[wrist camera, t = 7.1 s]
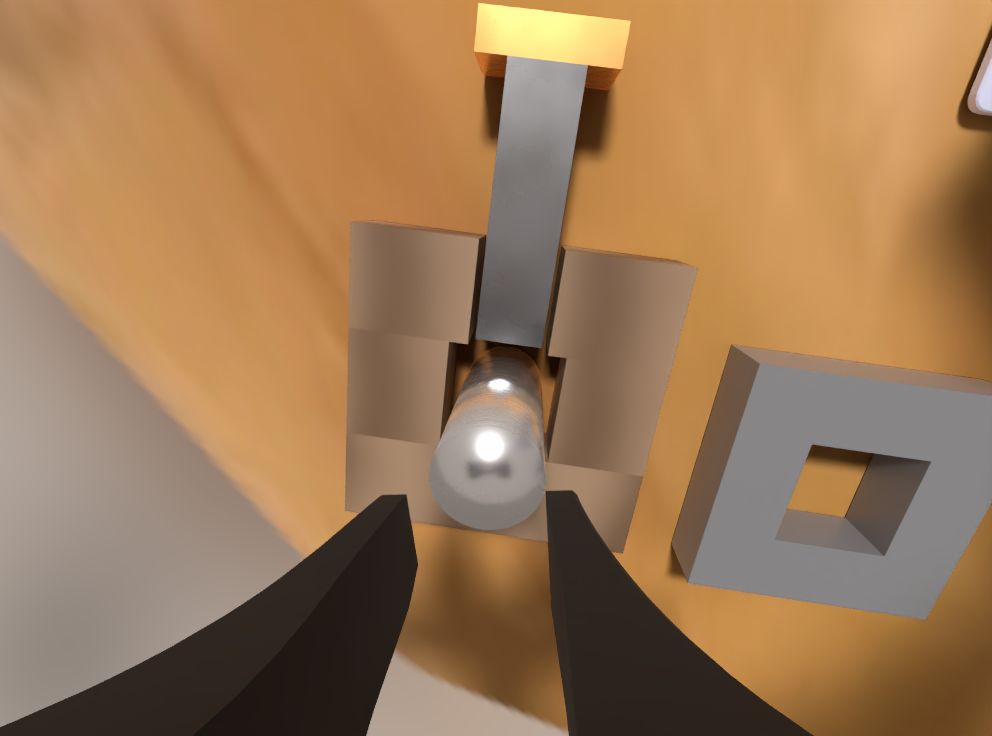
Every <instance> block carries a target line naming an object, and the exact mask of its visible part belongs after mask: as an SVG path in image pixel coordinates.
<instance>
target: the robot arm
mask: <svg viewBox="0 0 992 736" xmlns="http://www.w3.org/2000/svg"><path fill="white" fill-rule="evenodd" d="M967 103H968V108H969V109H970V110H971V112H973V113H976V114H980V115H989V116H992V39H991V42H990V44H989V47H988V49H987V52H986V54H985V57H984V59H983V62H982V64H981V67H980V69H979V71H978V74H977V76H976V79H975V81H974V84H973V86H972V89H971V91H970V94H969V97H968V101H967ZM546 514H547V533H548V552H549V571H550V590H551V607H552V614H553V621H554V628H555V635H556V642H557V649H558V656H559V663H560V670H561V677H562V684H563V691H564V698H565V705H566V712H567V721H568V731H569V736H813V735H812V734H810V733H809V732H808V731H806V730H805V729H803V728H802V727H800V726H799V725H797V724H796V723H795V722H793V721H792V720H790V719H789V718H787V717H786V716H784V715H783V714H782V713H780V712H779V711H777V710H776V709H774V708H773V707H771V706H770V705H769V704H767V703H766V702H765V701H763V700H762V699H761V698H759V697H758V696H757V695H755V694H754V693H753V692H752V691H750V690H749V689H748V688H746V687H745V686H744V685H743V684H741V683H740V682H739V681H737V680H736V679H735V678H734V677H732V676H731V675H730V674H729V673H728V672H726V671H725V670H724V669H723V668H722V667H721V666H720V665H718V664H717V663H716V662H715V661H714V660H713V659H712V658H710V657H709V656H708V655H707V654H706V653H705V652H703V651H702V650H701V649H700V648H699V647H698V646H697V645H695V644H694V643H693V642H692V641H691V640H690V639H689V638H688V637H687V636H685V635H684V634H683V633H682V632H681V631H680V630H679V629H678V628H677V627H676V626H675V625H674V624H673V623H672V622H671V621H670V620H669V619H668V618H667V617H666V616H665V615H664V614H663V613H662V612H661V611H660V610H659V609H658V607H657V606H656V605H655V604H654V603H653V602H652V601H651V600H650V599H649V598H648V597H647V596H646V594H645V593H644V592H643V591H642V590H641V589H640V588H639V586H638V585H637V584H636V583H635V582H634V581H633V579H632V578H631V577H630V576H629V574H628V573H627V572H626V571H625V569H624V568H623V567H622V566H621V564H620V563H619V562H618V560H617V559H616V558H615V556H614V555H613V554H612V552H611V551H610V549H609V548H608V547H607V545H606V544H605V542H604V541H603V539H602V538H601V537H600V535H599V534H598V532H597V530H596V529H595V527H594V526H593V524H592V522H591V521H590V519H589V517H588V516H587V514H586V512H585V510H584V508H583V506H582V505H581V502H580V500H579V498H578V495H577V494H576V493H575V492H574V491H573V490H558V491H546ZM417 567H418V562H417V556H416V549H415V543H414V537H413V531H412V525H411V519H410V513H409V506H408V500H407V494H398V495H381V496H380V497H378V498H377V499H376V500H375V501H373V502H372V503H371V504H370V505H369V506H367V507H366V508H365V509H364V510H363V511H362V512H360V513H359V514H358V515H357V516H356V517H355V518H354V519H352V520H351V521H350V522H349V523H348V524H347V525H345V526H344V527H343V528H342V529H341V530H340V531H338V532H337V533H336V534H335V535H334V536H333V537H331V538H330V539H329V540H328V541H327V542H325V543H324V544H323V545H322V546H321V547H320V548H318V549H317V550H316V551H314V552H313V553H312V554H311V555H309V556H308V557H307V558H305V559H304V560H303V561H302V562H300V563H299V564H298V565H297V566H295V567H294V568H293V569H291V570H290V571H289V572H288V573H286V574H285V575H284V576H283V577H281V578H280V579H278V580H277V581H276V582H274V583H273V584H271V585H270V586H269V587H267V588H266V589H264V590H263V591H262V592H260V593H259V594H257V595H256V596H254V597H253V598H251V599H250V600H248V601H247V602H245V603H244V604H242V605H241V606H239V607H237V608H236V609H234V610H233V611H231V612H230V613H228V614H227V615H225V616H223V617H222V618H220V619H218V620H217V621H215V622H213V623H211V624H210V625H208V626H206V627H205V628H203V629H201V630H199V631H198V632H196V633H194V634H193V635H191V636H189V637H187V638H186V639H184V640H182V641H181V642H179V643H177V644H175V645H174V646H172V647H170V648H168V649H166V650H165V651H163V652H161V653H159V654H157V655H155V656H153V657H151V658H149V659H148V660H146V661H144V662H142V663H140V664H138V665H136V666H134V667H132V668H130V669H128V670H126V671H124V672H122V673H120V674H118V675H116V676H114V677H112V678H110V679H108V680H106V681H104V682H102V683H99V684H97V685H95V686H93V687H91V688H89V689H87V690H85V691H83V692H80V693H78V694H76V695H73V696H71V697H69V698H67V699H64V700H62V701H60V702H58V703H55V704H53V705H51V706H48V707H46V708H44V709H42V710H39V711H37V712H35V713H33V714H30V715H28V716H26V717H24V718H21V719H19V720H17V721H14V722H12V723H9V724H7V725H5V726H2V727H0V736H366V734H367V730H368V727H369V724H370V720H371V717H372V714H373V711H374V708H375V705H376V702H377V699H378V696H379V693H380V690H381V687H382V685H383V681H384V679H385V676H386V673H387V670H388V667H389V664H390V661H391V659H392V656H393V653H394V650H395V647H396V644H397V641H398V638H399V635H400V632H401V630H402V627H403V624H404V621H405V618H406V615H407V612H408V609H409V605H410V601H411V596H412V592H413V587H414V582H415V577H416V572H417Z"/></svg>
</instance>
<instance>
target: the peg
mask: <svg viewBox="0 0 992 736" xmlns="http://www.w3.org/2000/svg"><path fill="white" fill-rule="evenodd" d="M429 483H430V488H431V491H432V494H433V496H434V498H435V500H436V501H437V503H438V505H439V506H440V507H441V508H442V509H443V510H444V511H445V512H446V513H447V514H448V515H449V516H450V517H452V518H453V519H454V520H456V521H458V522H460V523H462V524H464V525H466V526H469V527H472V528H476V529H482V530H498V529H504V528H508V527H511V526H514V525H517V524H518V523H520V522H522V521H524V520H525V519H527V518H528V517H529V516H530V515H531V514H532V513H533V512H534V511H535V510H536V509H537V507H538V506H539V504H540V502H541V501H542V498H543V496H544V492H545V487H546V472H545V452H544V432H543V412H542V391H541V376H540V372H539V369H538V367H537V365H536V363H535V362H534V360H533V359H532V358H531V357H530V356H529V355H528V354H526V353H525V352H523V351H522V350H519V349H517V348H514V347H509V346H498V347H493V348H490V349H488V350H486V351H484V352H483V353H481V354H480V355H479V356H478V357H477V358H476V359H475V360H474V361H473V363H472V365H471V367H470V369H469V371H468V374H467V376H466V379H465V381H464V383H463V386H462V388H461V391H460V393H459V396H458V398H457V400H456V403H455V405H454V408H453V410H452V412H451V415H450V417H449V420H448V422H447V424H446V427H445V429H444V432H443V434H442V436H441V439H440V441H439V444H438V446H437V449H436V451H435V453H434V456H433V458H432V461H431V464H430V469H429Z"/></svg>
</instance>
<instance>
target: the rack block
mask: <svg viewBox="0 0 992 736" xmlns="http://www.w3.org/2000/svg"><path fill="white" fill-rule="evenodd" d="M812 444H813V445H820V446H827V447H834V448H841V449H848V450H855V451H861V452H868V453H874V454H873V456H872V459H871V461H870V463H869V465H868V468H867V470H866V472H865V474H864V477H863V479H862V481H861V483H860V486H859V488H858V490H857V492H856V495H855V497H854V499H853V501H852V503H851V506H850V508H849V510H848V512H847V515H846V517H845V518H844V517H837V516H831V515H824V514H817V513H810V512H804V511H797V510H790V509H787V507H788V504H789V502H790V499H791V497H792V494H793V492H794V489H795V486H796V484H797V481H798V479H799V476H800V474H801V471H802V469H803V466H804V464H805V461H806V458H807V456H808V453H809V451H810V448H811V446H812ZM991 503H992V383H991V382H988V381H985V380H983V379H976V378H969V377H962V376H955V375H947V374H940V373H933V372H926V371H918V370H911V369H904V368H897V367H890V366H882V365H875V364H868V363H861V362H853V361H846V360H839V359H832V358H825V357H817V356H810V355H803V354H796V353H788V352H781V351H774V350H767V349H760V348H752V347H745V346H738V345H732V346H731V349H730V352H729V356H728V359H727V362H726V365H725V369H724V372H723V375H722V379H721V382H720V385H719V388H718V392H717V395H716V398H715V402H714V405H713V408H712V411H711V415H710V418H709V421H708V425H707V428H706V431H705V434H704V438H703V441H702V444H701V448H700V451H699V454H698V457H697V461H696V464H695V467H694V471H693V474H692V477H691V480H690V484H689V487H688V490H687V494H686V497H685V500H684V503H683V507H682V510H681V513H680V517H679V520H678V523H677V526H676V530H675V533H674V536H673V540H672V543H671V544H672V546H673V549H674V551H675V554H676V556H677V558H678V561H679V563H680V566H681V568H682V571H683V573H684V575H685V578H686V580H687V583H690V584H697V585H703V586H710V587H716V588H722V589H729V590H735V591H742V592H748V593H755V594H761V595H768V596H774V597H781V598H787V599H793V600H800V601H806V602H813V603H819V604H826V605H832V606H839V607H845V608H852V609H858V610H864V611H871V612H877V613H884V614H890V615H897V616H903V617H910V618H916V619H923V620H926V618H927V616H928V615H929V613H930V611H931V609H932V607H933V606H934V604H935V602H936V600H937V599H938V597H939V595H940V593H941V592H942V590H943V588H944V586H945V584H946V583H947V581H948V579H949V577H950V576H951V574H952V572H953V570H954V568H955V567H956V565H957V563H958V561H959V560H960V558H961V556H962V554H963V552H964V551H965V549H966V547H967V545H968V544H969V542H970V540H971V538H972V537H973V535H974V533H975V531H976V529H977V528H978V526H979V524H980V522H981V521H982V519H983V517H984V515H985V513H986V512H987V510H988V508H989V506H990V505H991Z"/></svg>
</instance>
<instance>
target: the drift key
mask: <svg viewBox="0 0 992 736" xmlns="http://www.w3.org/2000/svg"><path fill="white" fill-rule="evenodd" d="M630 22H631V21H626V20H617V19H609V18H600V17H592V16H583V15H574V14H566V13H557V12H549V11H540V10H532V9H523V8H515V7H506V6H498V5H489V4H481V3H479V6H478V16H477V27H476V38H475V49H474V52H475V55H476V57H477V60H478V63H479V65H480V68H481V71H482V74H483V75H485V76H493V77H501V78H505V82H504V91H503V100H502V109H501V118H500V126H499V135H498V144H497V153H496V162H495V171H494V179H493V188H492V197H491V206H490V215H489V224H488V232H487V241H486V250H485V259H484V268H483V277H482V286H481V294H480V303H479V312H478V321H477V330H476V339H480V340H487V341H494V342H501V343H508V344H515V345H522V346H529V347H537V348H542V344H543V338H544V331H545V325H546V319H547V313H548V307H549V301H550V295H551V289H552V282H553V276H554V270H555V264H556V258H557V252H558V246H559V240H560V233H561V227H562V221H563V215H564V209H565V203H566V197H567V191H568V184H569V178H570V172H571V166H572V160H573V154H574V148H575V142H576V135H577V129H578V123H579V117H580V111H581V105H582V99H583V93H584V88H591V89H599V90H607V91H608V90H609V89H610V87H611V86H612V84H613V82H614V81H615V79H616V78H617V76H618V74H619V73H620V71H621V70H622V65H623V60H624V54H625V49H626V44H627V38H628V33H629V27H630Z"/></svg>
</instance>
